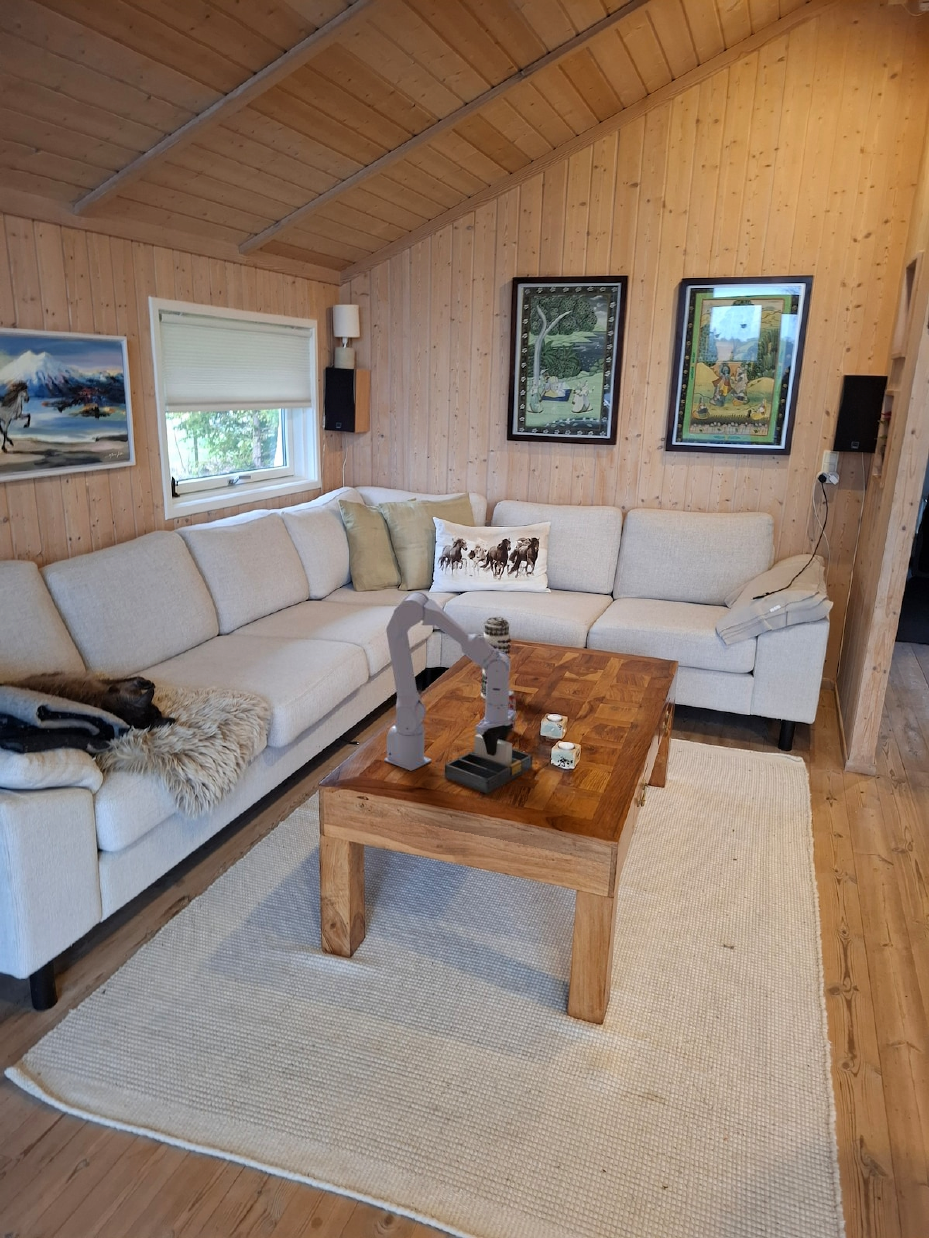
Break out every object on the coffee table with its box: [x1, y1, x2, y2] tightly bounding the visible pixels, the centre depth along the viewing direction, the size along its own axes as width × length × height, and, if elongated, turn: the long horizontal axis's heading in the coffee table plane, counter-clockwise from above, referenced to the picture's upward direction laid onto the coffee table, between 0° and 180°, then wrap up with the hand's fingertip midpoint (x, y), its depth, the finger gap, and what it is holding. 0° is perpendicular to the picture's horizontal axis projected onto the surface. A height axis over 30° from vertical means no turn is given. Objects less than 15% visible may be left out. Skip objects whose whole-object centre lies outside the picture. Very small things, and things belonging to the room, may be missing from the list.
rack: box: [444, 748, 534, 795], centre depth 214 cm, size 13×19×4 cm
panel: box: [473, 733, 513, 767], centre depth 215 cm, size 10×2×7 cm, turn 52°
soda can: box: [508, 688, 517, 735], centre depth 238 cm, size 7×7×12 cm
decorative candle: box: [480, 616, 512, 700], centre depth 265 cm, size 9×9×25 cm
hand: (495, 752), depth 215 cm, fingers open, 3 cm apart
